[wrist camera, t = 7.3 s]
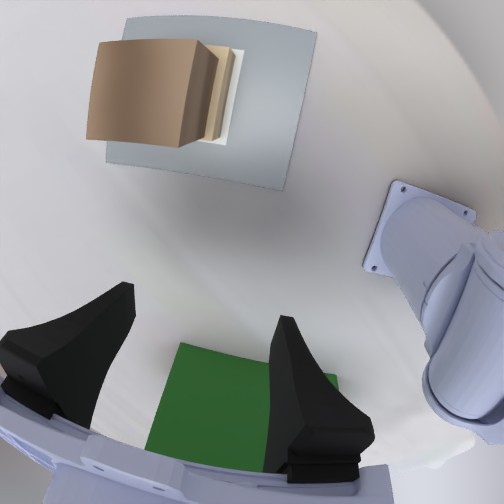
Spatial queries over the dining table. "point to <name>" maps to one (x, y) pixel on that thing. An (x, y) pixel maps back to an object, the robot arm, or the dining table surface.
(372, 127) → the dining table surface
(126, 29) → the build plate
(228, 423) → the hardback book
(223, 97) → the oak block
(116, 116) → the walnut cube
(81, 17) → the dining table surface
